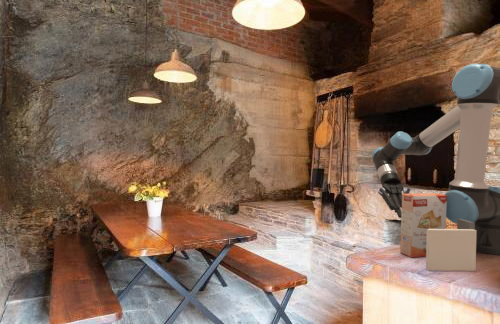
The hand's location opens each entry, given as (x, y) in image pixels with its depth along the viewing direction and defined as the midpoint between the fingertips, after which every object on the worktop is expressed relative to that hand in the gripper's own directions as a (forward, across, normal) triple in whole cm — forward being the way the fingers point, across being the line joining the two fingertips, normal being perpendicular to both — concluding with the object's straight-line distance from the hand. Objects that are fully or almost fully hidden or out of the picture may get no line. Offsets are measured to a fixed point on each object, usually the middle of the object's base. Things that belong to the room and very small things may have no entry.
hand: (406, 224), depth 128 cm
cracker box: (+14, 0, +2) cm, 14 cm away
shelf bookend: (+23, 0, +11) cm, 25 cm away
